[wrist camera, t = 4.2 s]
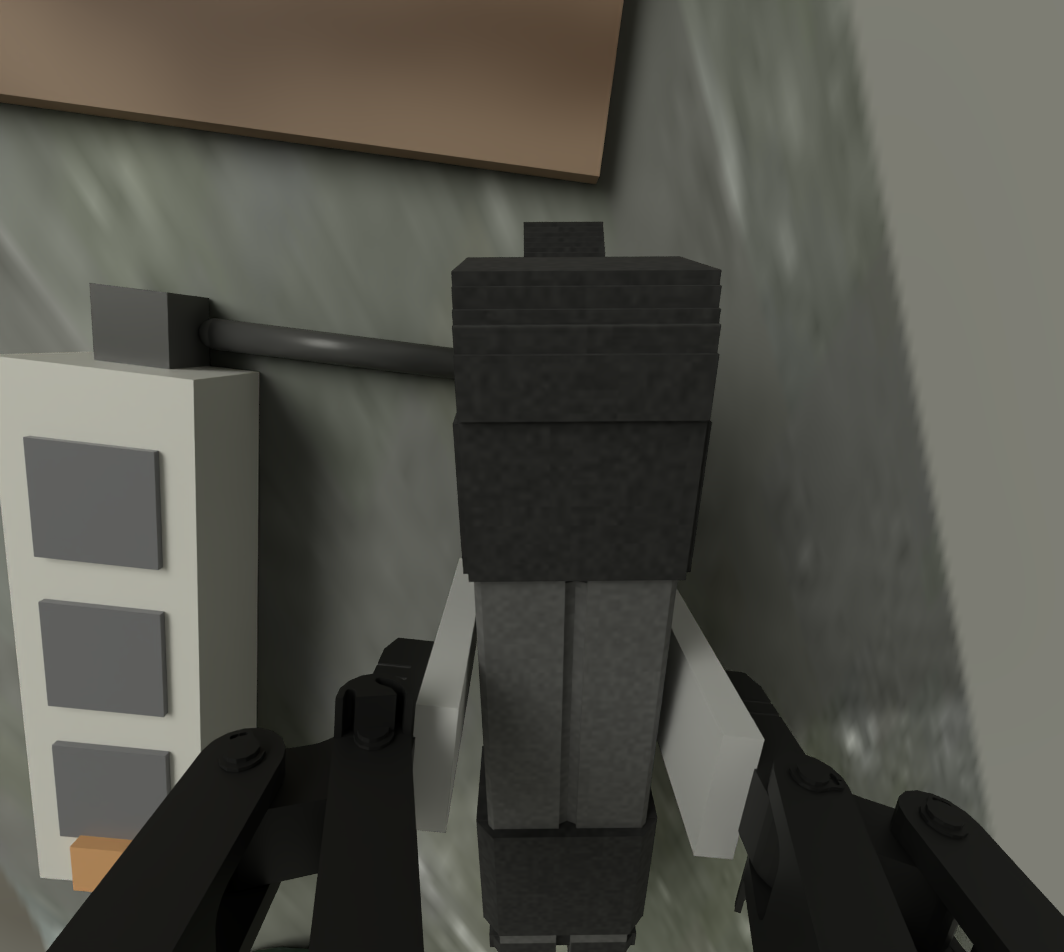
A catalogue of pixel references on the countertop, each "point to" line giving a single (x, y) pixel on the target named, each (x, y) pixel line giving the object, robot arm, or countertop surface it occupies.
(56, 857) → the power strip
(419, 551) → the countertop surface
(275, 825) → the robot arm
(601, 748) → the gun
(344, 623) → the countertop surface
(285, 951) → the coffee jar
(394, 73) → the walnut board
